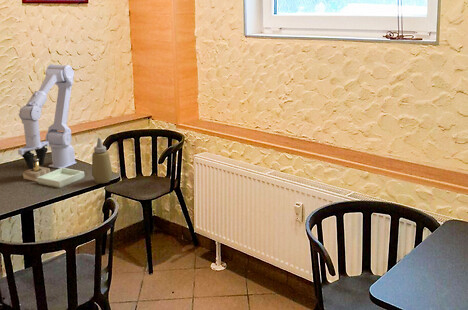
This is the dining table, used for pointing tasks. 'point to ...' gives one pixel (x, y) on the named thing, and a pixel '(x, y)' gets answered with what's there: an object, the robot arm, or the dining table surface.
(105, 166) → the squeeze bottle
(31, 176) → the lock block
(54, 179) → the tray
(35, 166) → the pin
